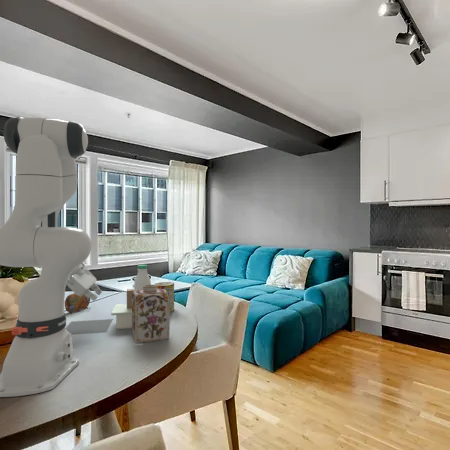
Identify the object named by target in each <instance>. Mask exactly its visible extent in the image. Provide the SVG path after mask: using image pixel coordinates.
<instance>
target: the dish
mask: <svg viewBox="0 0 450 450" xmlns="http://www.w3.org/2000/svg"><path fill="white" fill-rule="evenodd" d="M115 321H116V323H115V324H116V325H115V328H116V330H121V329H132V314H126V315H115Z"/></svg>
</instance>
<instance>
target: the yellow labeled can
mask: <svg viewBox="0 0 450 450" xmlns="http://www.w3.org/2000/svg"><path fill="white" fill-rule="evenodd" d="M153 285H156V286H157V288H158V289H165V290H166V291H167V293H168V296H169V300H170V301H169V308H170V313H171V312H173V311H175V283H174V282H171V281H163V282H162V281H161V282H155V283H154V284H153Z"/></svg>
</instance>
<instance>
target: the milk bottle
mask: <svg viewBox="0 0 450 450" xmlns="http://www.w3.org/2000/svg"><path fill="white" fill-rule="evenodd" d="M136 267H137V275H136V276H135V277H136V278H135V279H134V285H133V289H135V291H137V290H140V289H143V286H144V285H152V283H151V279H150V276H149V273H148V264H138V265H137V266H136Z"/></svg>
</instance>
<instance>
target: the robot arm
mask: <svg viewBox="0 0 450 450" xmlns="http://www.w3.org/2000/svg"><path fill="white" fill-rule="evenodd" d="M3 140H4V143H5V145H6V147H7V148H8V149H9V150H10V151H11V153H14V154H16V161H15V201H14V205H13V210H12V212H11V214H10V216H9V218H8V219H7V220H6V222H5V223H4V224H3V225H2V226H0V266H4V267H11V268H36V267H38V268H41V272H40V275H39V277H37V278H35V279H32V280H30V281H29V282H27V283H26V284H25V283H24V285H23V286H22V287H21V288H20V290H19V292H18V297H17V299H18V305H17V306H18V313H17V315H18V318H17V319H16V323H15V326H14V327H12V329H11V335H12V336H14V338H13V340H12V342H11V344H10V347H9V349H8V351H7V354H6V356H5V359H4V362H3V364H2V369H1V370H2V371H1V372H0V398H7V397H8V398H9V397H21V396H29V395H34V394H39V393H40V394H41V393H44V392H48V391H50V390H53V389H54V388H56V386H57V385H59V384H60V382H62V381H63V380H64V379H65V377H67V376H68V375H69V374H70V373H71V372H72V371H73V370H74V369H75V368H76V367H77V366H78V365H79V364H80V360H79V359H78V358H75V357H74V351H73V349H74V348H73V335H71V334H70V333H69V332H68V331H67V330H66V327H67V316H66V315H67V314H66V312H65V299H66V297H65V295H66V294H65V293H66V287H68V288H69V289H70V290H71V291H72V292H73V293H75V294H76V295H78V296H81V295H83V294H84V295H85V296H87V297H89V298H90V300H92V301H93V302H94V301H96V300H97V299H98V296H100V295H101V294H102V293H103V290H102V289H100V287H99V286H98V284H97V282H98V280H97V277H95V276H94V274H93V273H92V272H91V271H90V270H89V269H88V268H87V267H86V265H85V264H84V262H86V260H87V259H88V258H89V257H90V254H91V251H92V241H91V238H90V236H89V234H88V233H87V232H86V231H85V230H84V229H80V228H79V229H78V228H75V227H67V226H58V218H59V213H60V211H61V210H62V208H63V207H64V206H65V205H66V203H68V201H69V200H70V199H71V198H72V197H74V195H75V194H76V192H77V189H78V183H79V182H78V181H79V180H78V170H77V163H76V159H77V158H78V157H82V156H83V155H84V154H85V153H86V151H87V148H88V144H89V137H88V134H87V131H86V129H85V127H84V126H83V125H82V124H81V123H80V122H77V121H73V120H67V121H66V120H61V119H56V118H54V119H52V118H46V117H22V116H18V117H17V116H16V117H11V118H8V120H7V121H6V122H5V123H4V126H3ZM90 289H91V290H93V291H94V292H95V293H94V292H92V291H91V290H90Z"/></svg>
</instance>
